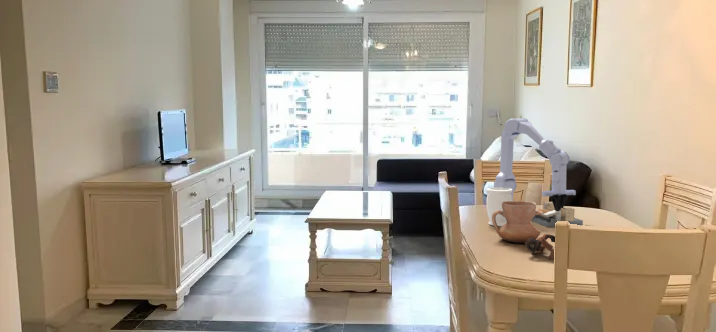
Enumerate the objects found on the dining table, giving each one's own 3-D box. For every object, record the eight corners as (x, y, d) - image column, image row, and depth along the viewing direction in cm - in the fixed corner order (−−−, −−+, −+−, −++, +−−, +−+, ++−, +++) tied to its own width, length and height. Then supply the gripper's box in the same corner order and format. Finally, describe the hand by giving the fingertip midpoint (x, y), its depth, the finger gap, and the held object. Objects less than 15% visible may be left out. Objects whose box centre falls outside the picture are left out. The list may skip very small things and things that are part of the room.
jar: (490, 220, 249) (491, 186, 247) (514, 223, 243) (515, 188, 242) (482, 225, 240) (483, 189, 238) (507, 228, 234) (508, 191, 233)
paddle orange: (541, 214, 247) (542, 209, 247) (537, 212, 250) (538, 208, 250) (555, 217, 248) (556, 213, 248) (551, 216, 252) (553, 211, 251)
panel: (547, 227, 236) (547, 210, 235) (526, 218, 254) (526, 202, 253) (582, 225, 239) (583, 208, 238) (559, 217, 257) (559, 201, 256)
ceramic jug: (541, 237, 218) (542, 200, 216) (543, 246, 204) (544, 206, 202) (492, 236, 222) (492, 199, 221) (491, 244, 208) (491, 205, 207)
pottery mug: (548, 252, 198) (560, 234, 194) (558, 271, 190) (570, 253, 186) (517, 245, 195) (528, 226, 191) (525, 264, 187) (537, 245, 183)
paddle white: (546, 219, 244) (545, 215, 243) (542, 218, 247) (542, 213, 247) (561, 215, 245) (560, 210, 245) (557, 213, 248) (556, 209, 248)
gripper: (548, 182, 240) (547, 214, 241) (579, 181, 242) (579, 213, 244) (539, 180, 246) (539, 212, 248) (570, 179, 249) (569, 210, 251)
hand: (558, 212), depth 246 cm, fingers closed, pressing on paddle white
